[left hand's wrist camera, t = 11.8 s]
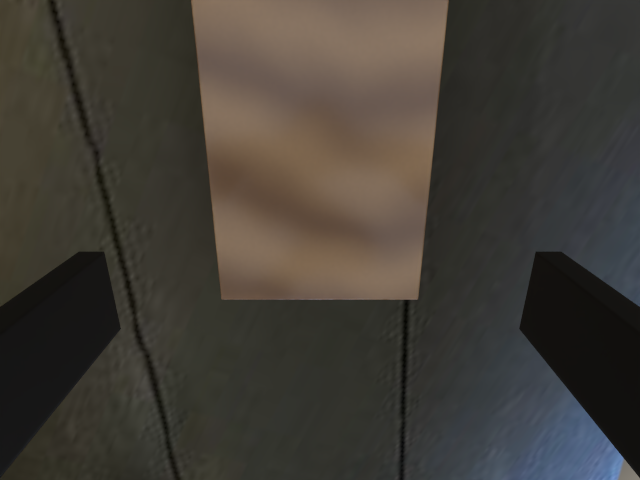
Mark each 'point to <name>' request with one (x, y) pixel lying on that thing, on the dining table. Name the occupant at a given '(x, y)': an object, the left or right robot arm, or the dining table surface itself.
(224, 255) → the cabinet
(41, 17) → the dining table surface
